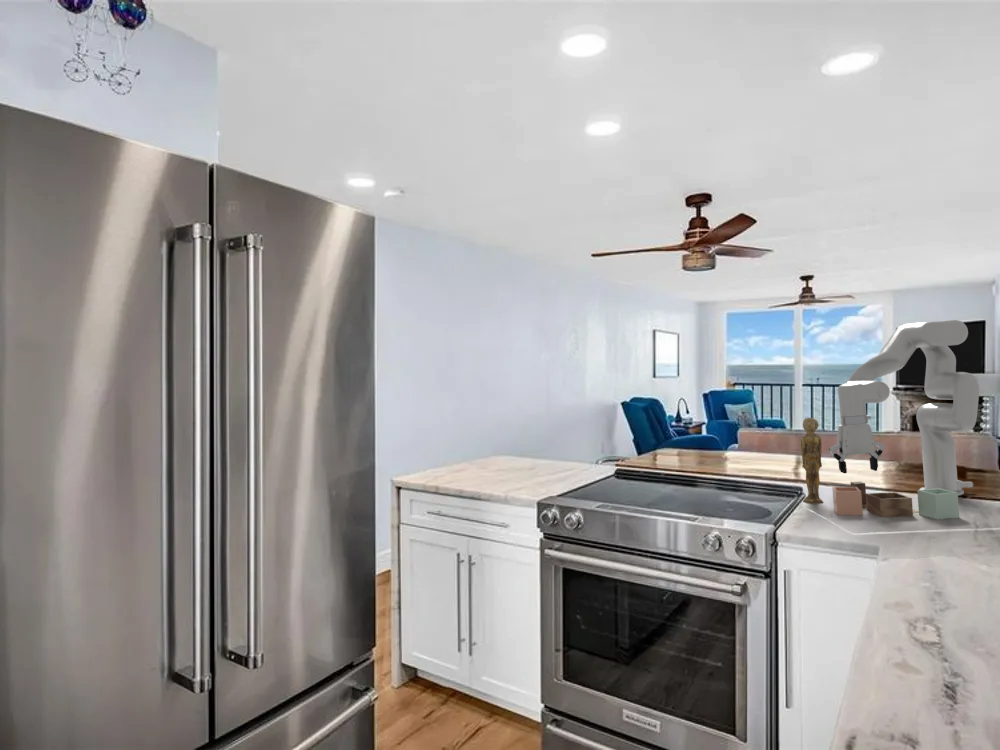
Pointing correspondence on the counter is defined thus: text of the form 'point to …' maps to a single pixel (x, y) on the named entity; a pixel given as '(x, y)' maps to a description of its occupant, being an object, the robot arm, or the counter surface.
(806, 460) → the sculpture
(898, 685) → the counter surface
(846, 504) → the canister terracotta
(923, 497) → the box
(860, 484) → the lid
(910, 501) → the box
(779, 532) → the counter surface
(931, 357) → the robot arm
